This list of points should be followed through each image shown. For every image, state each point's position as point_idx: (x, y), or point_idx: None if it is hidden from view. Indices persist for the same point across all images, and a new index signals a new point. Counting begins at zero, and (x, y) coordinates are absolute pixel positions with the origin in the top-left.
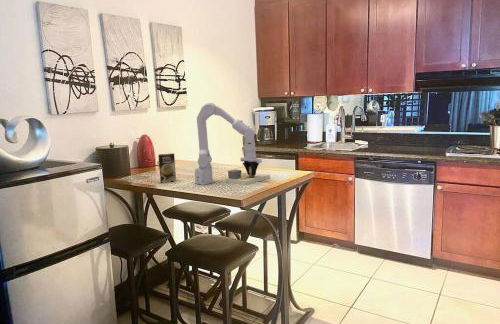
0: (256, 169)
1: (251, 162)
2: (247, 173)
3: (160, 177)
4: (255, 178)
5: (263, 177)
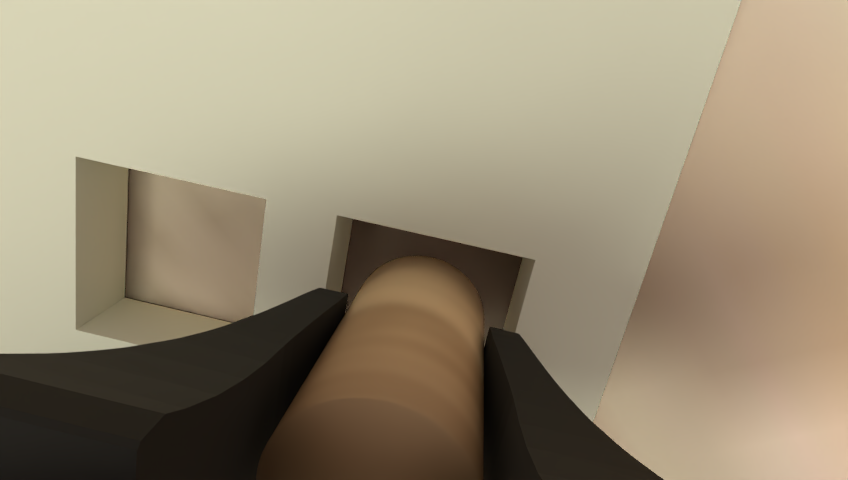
0: (575, 417)
1: (173, 474)
2: None
3: None
4: None
5: (673, 167)
